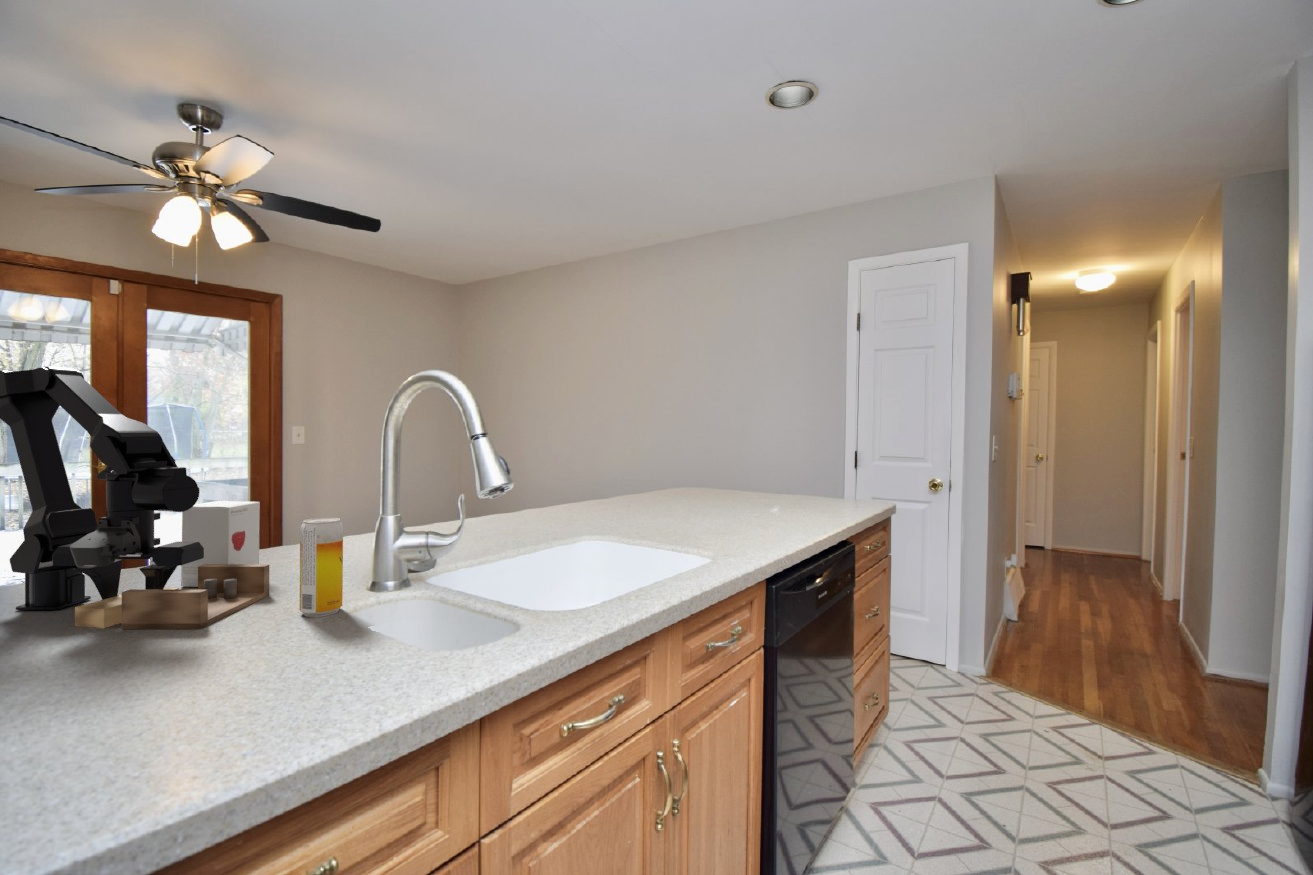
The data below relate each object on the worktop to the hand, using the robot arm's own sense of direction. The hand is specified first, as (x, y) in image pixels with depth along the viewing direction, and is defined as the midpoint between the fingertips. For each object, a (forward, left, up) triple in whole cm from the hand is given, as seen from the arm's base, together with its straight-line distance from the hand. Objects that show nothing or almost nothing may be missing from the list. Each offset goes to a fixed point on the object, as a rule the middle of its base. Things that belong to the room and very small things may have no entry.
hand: (130, 607), depth 96 cm
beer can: (+28, +1, -1) cm, 29 cm away
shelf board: (0, 0, -1) cm, 1 cm away
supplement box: (+1, +20, -1) cm, 20 cm away
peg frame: (+9, +2, -1) cm, 10 cm away
